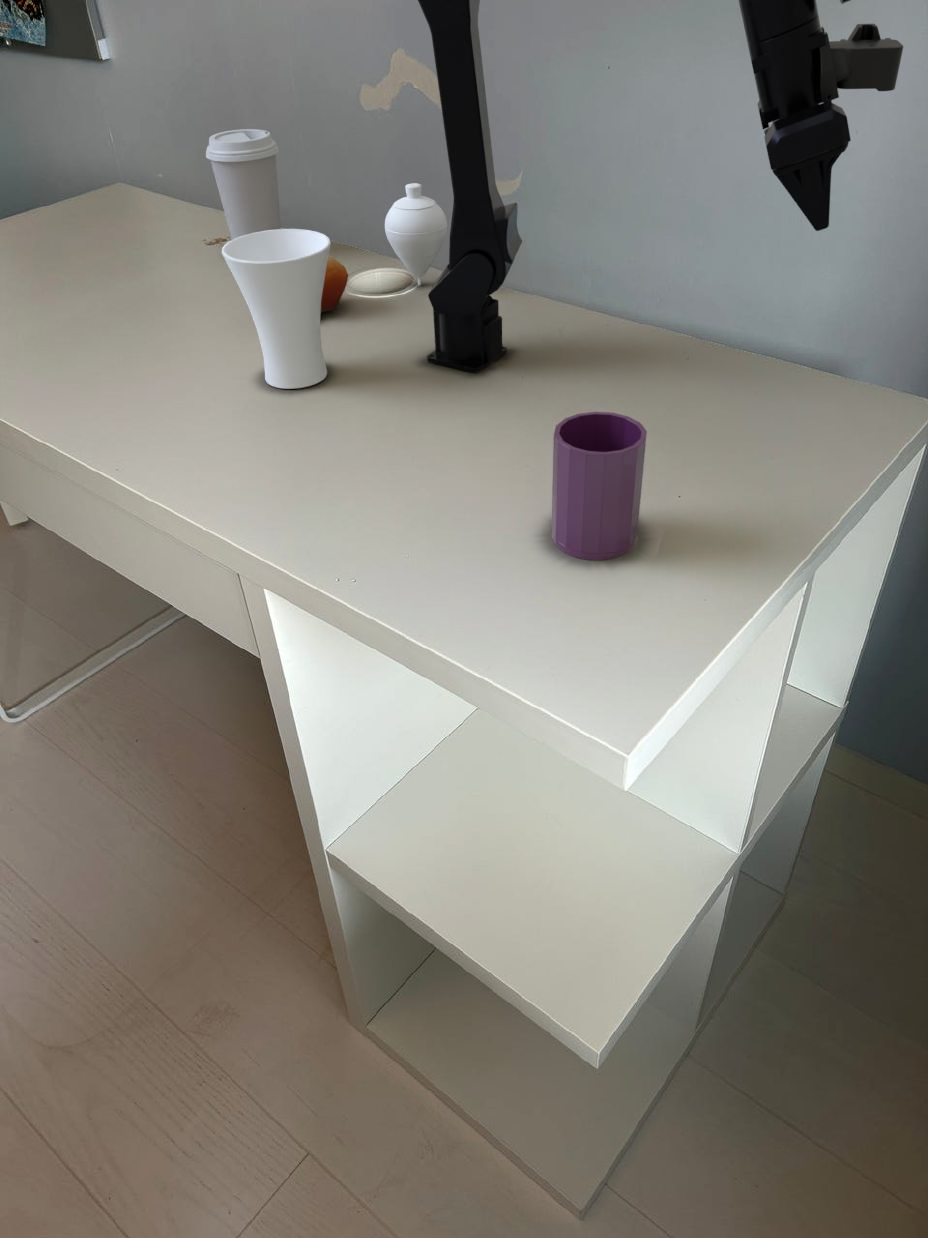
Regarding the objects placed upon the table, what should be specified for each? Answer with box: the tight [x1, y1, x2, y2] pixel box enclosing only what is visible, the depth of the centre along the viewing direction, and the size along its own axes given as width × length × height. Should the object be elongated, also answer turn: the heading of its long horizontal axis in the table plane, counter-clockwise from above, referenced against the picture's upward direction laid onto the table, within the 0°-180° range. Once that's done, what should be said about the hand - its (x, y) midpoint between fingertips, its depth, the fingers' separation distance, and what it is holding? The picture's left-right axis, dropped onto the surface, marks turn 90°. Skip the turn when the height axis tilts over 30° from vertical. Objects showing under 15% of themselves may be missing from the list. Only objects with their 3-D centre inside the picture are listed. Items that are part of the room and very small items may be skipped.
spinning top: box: [384, 182, 448, 286], centre depth 117 cm, size 8×8×12 cm
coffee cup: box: [205, 128, 282, 240], centre depth 129 cm, size 10×10×15 cm
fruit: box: [321, 256, 349, 313], centre depth 113 cm, size 8×8×8 cm
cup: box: [221, 228, 332, 390], centre depth 96 cm, size 10×10×14 cm
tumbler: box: [550, 411, 648, 561], centre depth 72 cm, size 7×7×9 cm
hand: (817, 213), depth 87 cm, fingers open, 9 cm apart
